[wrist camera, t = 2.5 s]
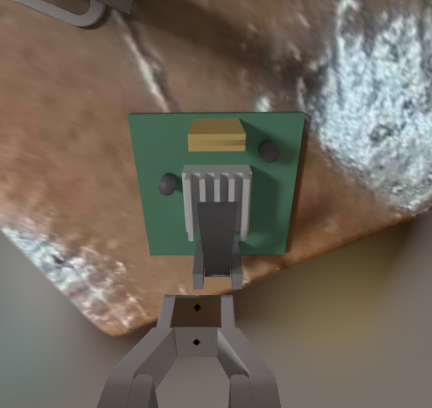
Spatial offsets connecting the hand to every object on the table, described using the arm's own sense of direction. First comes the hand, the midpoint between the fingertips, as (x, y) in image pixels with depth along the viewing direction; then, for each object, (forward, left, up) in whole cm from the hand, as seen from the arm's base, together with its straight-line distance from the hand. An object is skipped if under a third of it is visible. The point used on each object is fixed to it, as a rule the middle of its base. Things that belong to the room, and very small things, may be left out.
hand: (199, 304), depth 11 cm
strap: (-1, +7, -13) cm, 15 cm away
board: (-1, +5, -24) cm, 24 cm away
